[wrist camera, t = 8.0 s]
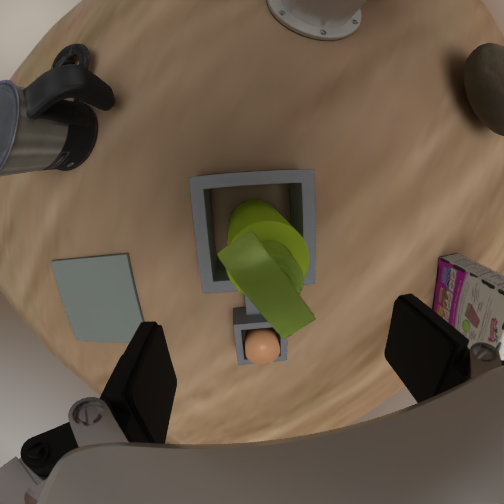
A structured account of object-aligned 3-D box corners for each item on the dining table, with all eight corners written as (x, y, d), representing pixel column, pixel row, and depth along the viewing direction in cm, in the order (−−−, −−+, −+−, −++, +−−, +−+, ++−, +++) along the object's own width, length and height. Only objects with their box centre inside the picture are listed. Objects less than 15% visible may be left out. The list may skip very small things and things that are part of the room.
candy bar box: (449, 310, 38) (507, 359, 22) (429, 317, 38) (488, 373, 22) (458, 250, 34) (530, 289, 19) (438, 255, 34) (514, 299, 19)
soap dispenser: (255, 181, 30) (292, 203, 11) (289, 230, 32) (363, 318, 13) (213, 212, 31) (179, 284, 11) (248, 259, 32) (268, 378, 13)
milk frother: (66, 186, 28) (-15, 204, 14) (20, 115, 24) (-51, 109, 10) (140, 103, 26) (76, 63, 12) (83, 39, 22) (23, -1, 8)
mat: (53, 260, 31) (50, 261, 30) (128, 253, 31) (126, 254, 31) (78, 338, 35) (76, 340, 34) (149, 340, 35) (148, 343, 35)
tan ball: (243, 325, 32) (244, 339, 29) (276, 322, 32) (280, 336, 29) (245, 351, 33) (246, 366, 30) (276, 348, 33) (280, 362, 31)
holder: (197, 175, 29) (188, 177, 23) (299, 169, 30) (313, 169, 24) (219, 347, 36) (217, 376, 30) (300, 340, 36) (310, 367, 31)
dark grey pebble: (488, 77, 25) (545, 69, 11) (493, 146, 29) (557, 153, 15) (438, 43, 24) (500, 18, 10) (444, 119, 28) (521, 113, 14)
